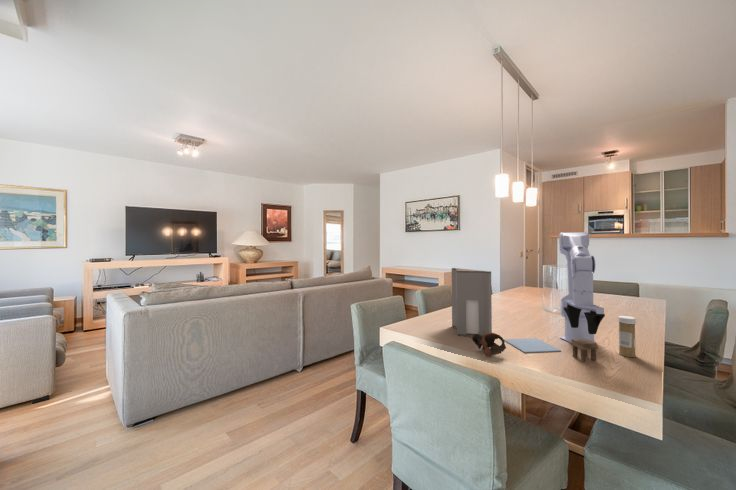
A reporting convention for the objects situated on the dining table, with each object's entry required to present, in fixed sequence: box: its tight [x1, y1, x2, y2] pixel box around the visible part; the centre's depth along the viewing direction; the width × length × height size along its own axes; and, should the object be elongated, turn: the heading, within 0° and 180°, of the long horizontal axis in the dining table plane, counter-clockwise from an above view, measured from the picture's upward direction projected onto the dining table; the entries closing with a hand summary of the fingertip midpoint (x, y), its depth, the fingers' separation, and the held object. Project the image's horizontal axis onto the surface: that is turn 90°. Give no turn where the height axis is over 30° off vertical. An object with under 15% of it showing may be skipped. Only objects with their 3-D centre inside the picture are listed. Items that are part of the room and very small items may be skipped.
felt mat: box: [503, 337, 562, 354], centre depth 115 cm, size 14×14×1 cm
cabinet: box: [451, 267, 493, 337], centre depth 131 cm, size 21×10×28 cm, turn 30°
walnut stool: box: [571, 338, 598, 362], centre depth 102 cm, size 5×5×6 cm
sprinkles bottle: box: [618, 315, 637, 358], centre depth 104 cm, size 5×5×14 cm
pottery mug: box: [471, 332, 507, 358], centre depth 108 cm, size 12×10×8 cm
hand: (583, 330), depth 102 cm, fingers open, 7 cm apart
